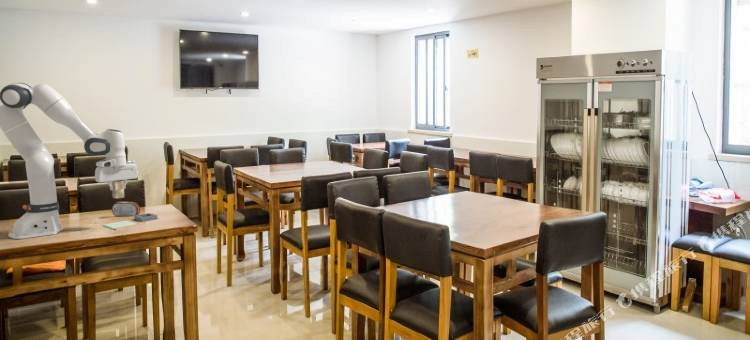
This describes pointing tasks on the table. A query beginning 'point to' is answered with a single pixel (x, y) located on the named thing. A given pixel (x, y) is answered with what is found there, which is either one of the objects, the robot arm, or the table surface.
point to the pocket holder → (145, 217)
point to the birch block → (118, 189)
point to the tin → (125, 209)
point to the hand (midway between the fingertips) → (117, 189)
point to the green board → (118, 224)
